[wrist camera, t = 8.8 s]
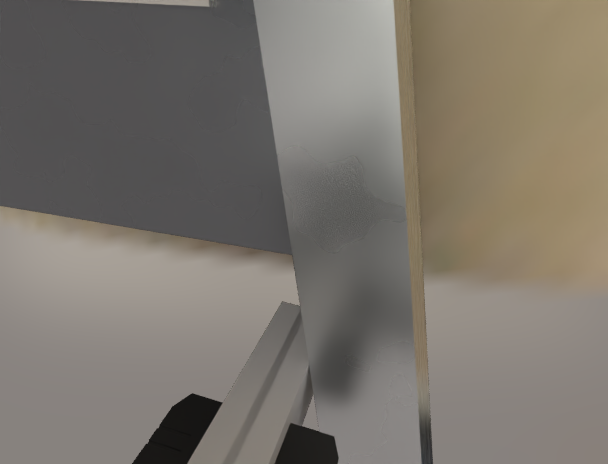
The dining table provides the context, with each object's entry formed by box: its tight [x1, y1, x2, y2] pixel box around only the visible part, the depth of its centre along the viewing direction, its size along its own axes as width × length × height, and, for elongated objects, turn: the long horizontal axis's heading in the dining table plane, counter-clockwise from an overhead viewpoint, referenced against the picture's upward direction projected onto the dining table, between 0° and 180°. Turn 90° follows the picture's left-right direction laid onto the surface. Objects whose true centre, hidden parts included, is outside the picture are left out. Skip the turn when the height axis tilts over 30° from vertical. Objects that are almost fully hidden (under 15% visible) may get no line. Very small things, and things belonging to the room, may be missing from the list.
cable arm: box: [253, 0, 433, 464], centre depth 12 cm, size 22×4×4 cm, turn 8°
